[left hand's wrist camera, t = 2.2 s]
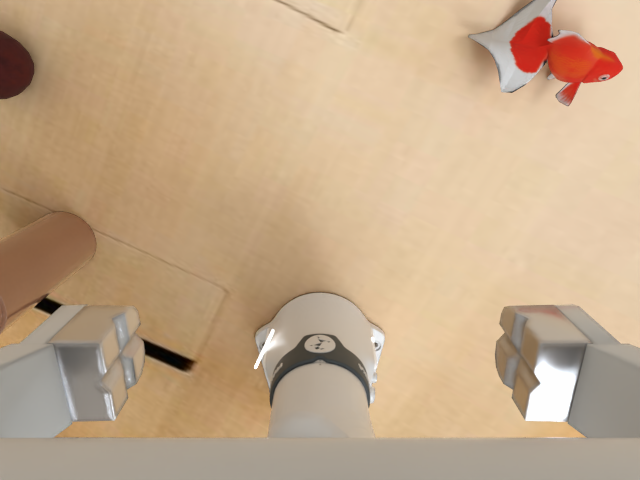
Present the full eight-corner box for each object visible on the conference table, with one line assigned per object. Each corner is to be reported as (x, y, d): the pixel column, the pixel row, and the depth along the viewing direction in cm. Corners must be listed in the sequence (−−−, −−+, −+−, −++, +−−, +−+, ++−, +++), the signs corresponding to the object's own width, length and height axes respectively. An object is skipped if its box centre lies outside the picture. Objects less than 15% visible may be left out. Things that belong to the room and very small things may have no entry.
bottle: (63, 199, 59) (-88, 274, 37) (108, 245, 61) (-9, 341, 39) (23, 235, 60) (-144, 326, 39) (68, 278, 63) (-65, 387, 41)
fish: (562, 149, 52) (599, 109, 42) (445, 84, 55) (454, 35, 46) (614, 74, 52) (663, 18, 42) (494, 15, 56) (514, -49, 46)
